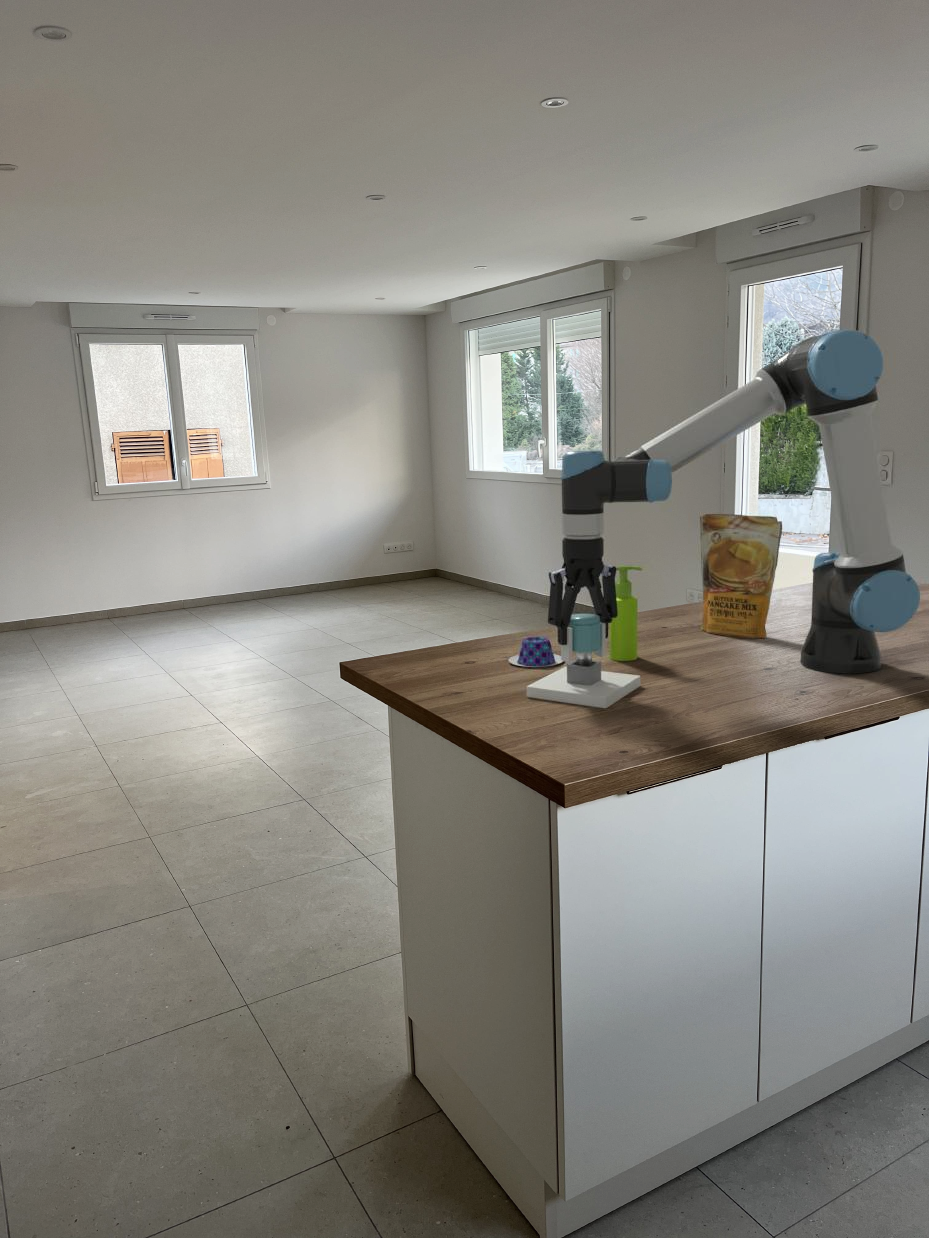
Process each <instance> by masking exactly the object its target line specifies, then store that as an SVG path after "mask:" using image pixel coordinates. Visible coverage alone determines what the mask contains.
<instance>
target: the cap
mask: <svg viewBox="0 0 929 1238" xmlns="http://www.w3.org/2000/svg"><path fill="white" fill-rule="evenodd" d="M568 627H570V628H572V652H575V653H576V652H592V653H594V651H597V650H601V643H600V616H598V615H596V613H595V614H594V613H593V614H592V613H574V614H572V615H571V619H570V622H569V626H568Z"/></svg>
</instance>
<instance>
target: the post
mask: <svg viewBox="0 0 929 1238" xmlns="http://www.w3.org/2000/svg"><path fill="white" fill-rule="evenodd" d="M575 660H576V665H580V666H588V667H589V666H591V665H592V661H593V652H575Z"/></svg>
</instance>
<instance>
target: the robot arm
mask: <svg viewBox="0 0 929 1238" xmlns="http://www.w3.org/2000/svg"><path fill="white" fill-rule="evenodd" d="M882 353H883V352H882V350H881V349H880V347H879V345H878V344H877V342H876V341H875V340H874V338H873V337H871V336H869V335H868V334H866V333H864V332H862V331H860V330H856V329H842V328H841V329H836V330H831V331H829V332H826V333H823V334H820V335H819V334H818V335H816V336H811V337H809V338H806V339H804V340H801V341H800V342H799V343H797V344H796V345H794V346H793V347H792V348H790V349H789V350H787V351H786V352H784V353H782V355H780V356H779V357H778V358H776V359H775V360H773V361H772V362H770V363H769V364H767V365H765V366H764V367H761V369H759V370H757V372H756V374H755V378H754V379H753V380H751V381H749V382H747V383H746V384H744V385H742V386H741V387H739V388H738V389H736V390H734V391H732V392H730V393H729V394H728V395H725V396H723V397H722V398H721V399H719V400H717V401H715V402H714V403H711V404H710V405H709V406H707V407H705V408H704V409H701V410H700V411H698V412H697V413H695V414H694V415H692V416H690V417H688V418H687V419H685V420H683V421H681V422H680V423H679V424H677V425H675V426H673V427H671V428H670V429H668V430H667V431H665V432H662V434H660V435H657V436H656V437H654V438H653V439H651V440H649V441H648V442H646V443H644V444H642V445H641V446H640V447H637V448H636V449H634V450H633V451H631V452H629V453H627V454H626V455H624V456H622V457H621V456H620V457H617V458H616V459H614V460H605V455H604V452H603V451H601V450H597V449H596V450H595V449H594V450H571V451H566V452H565V453H564V454H563V456H562V457H561V458H562V460H561V461H562V462H561V463H562V464H561V476H560V478H561V479H560V480H561V509H562V510H561V511H562V514H561V517H562V520H561V522H562V524H561V525H562V527H561V528H562V535H563V536H565V537H563V539H562V541H561V545H562V547H561V548H562V549H561V551H562V553H561V555H562V558H563V564H562V566H561V569H557V570H556V571H552V570H550V571H549V572H548V578H549V582H550V588H549V597H548V598H549V601H548V612H547V623H548V624H549V625H551V626H555V627H556V628H557V643H558V645H560V656H561V660H562V661H563V662H565V663H567V664H569V663H573V661H574V660H573V651H572V628H570V627H568V626H569V622H570V619H571V615H573V612H574V608H575V604H576V601H577V597H578V595H579V593H580V592H581V591H582V589H583V588H586V589H587V590H588V593H589V596H590V600H591V602H592V606H593V609H594V613H595V615H598V616H600V643H601V650H597V651H593V655H594V656H596V657H600V658H606V639H608V638H609V624H610V623H611V622H612V618H616V617H617V616H618V611H617V599H616V587H615V582H616V575H617V571H618V570H617V566H615V565H610V564H605V563H604V562H603V557H604V553H605V552H604V549H605V548H604V547H605V544H604V543H605V541H604V538H603V537H602V535H603V534H604V533H605V524H604V523H605V522H604V521H605V520H604V518H605V517H604V514H605V513H604V511H605V509H604V505H605V504H607V503H608V504H612V503H649V504H651V503H654V502H655V503H656V502H663V501H664V502H665V501H667V500H668V499H669V498H670V496H671V493H672V489H673V488H672V487H673V473H674V472H676V471H678V470H680V469H681V468H683V467H684V466H686V465H688V464H690V463H692V462H694V461H695V460H697V459H698V458H700V457H701V456H704V455H706V454H707V453H709V452H711V451H712V450H714V449H716V448H718V447H720V445H723V444H724V443H726V442H728V441H729V440H731V439H733V438H735V437H736V436H738V435H740V434H741V433H743V432H745V431H746V430H748V429H750V428H753V426H755V425H757V424H759V423H760V422H762V421H764V420H766V419H767V418H769V417H771V416H773V415H774V414H775V415H778V416H779V415H780V416H783V415H784V414H786V413H788V412H790V411H792V410H794V409H796V408H799V407H801V406H804V405H805V406H806V407H805V408H806V412H807V418H808V419H810V420H812V421H813V422H815V423H817V425H818V427H819V432H820V434H819V435H820V438H821V440H820V441H821V444H822V452H823V455H824V456H823V457H824V462H825V468H826V472H827V473H826V474H827V479H828V485H829V489H830V491H829V492H830V496H831V502H832V507H833V508H832V509H833V513H834V518H835V526H836V531H837V535H838V541H839V547H840V552H839V551H838V552H823V553H822V552H820V553H818V554H817V555H816V556H815V557H814V560H813V568H812V570H811V571H812V591H811V592H812V593H811V595H812V597H811V599H812V600H811V621H810V622H811V623H810V624H811V625H810V627H809V630H808V633H807V635H806V637H805V641H804V643H803V646H802V648H801V650H800V664H801V665H803V666H804V667H806V668H809V669H812V670H815V671H820V672H827V673H834V674H835V673H837V674H864V673H872V672H876V671H877V670H880V669H881V668H882V653H881V650H880V647H879V642H878V639H877V635H876V633H889V632H892V631H895V630H898V629H900V628H902V627H904V626H905V625H907V624H908V623H909V622H910V621H911V619H912V618H913V617H914V616H915V614H916V613H917V611H918V609H919V607H920V604H921V603H920V602H921V591H920V587H919V585H918V584H917V582H916V580H915V579H914V578H913V577H912V576H911V575H910V574H908V573H907V571H906V563H905V558H904V552H903V550H901V549H900V548H898V547H897V546H896V545H894V544H893V542H892V536H891V531H890V525H889V524H890V523H889V519H888V513H887V506H886V500H885V494H884V489H883V488H884V487H883V483H882V482H883V481H882V477H881V476H882V475H881V470H880V464H879V457H878V452H877V445H876V440H875V439H876V438H875V433H874V427H873V426H874V425H873V422H872V411H873V410H874V408H875V406H876V405H878V402H879V397H878V390H877V384H878V383H879V380H880V378H881V377H882V374H883V370H884V358H883V354H882ZM600 576H601V580H600ZM565 578H566V581H565ZM564 581H565V584H564ZM601 583H602V584H601ZM563 592H564V593H563Z"/></svg>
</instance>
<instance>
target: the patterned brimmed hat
mask: <svg viewBox="0 0 929 1238" xmlns="http://www.w3.org/2000/svg"><path fill="white" fill-rule="evenodd" d="M508 662H509V663H510V664H512V665H515V666H519V667H525V668H543V667H545V668H547V667H550V666H551V667H552V666H556V665H559V664H561V663H563V662H564V661H562V660H561V655H558V654H555V653H554V651H553V647H552V643H551V641H550V639H548V638H547V637H542V636H530V637H526V638H524V639H523V640H522V642H521V646H520V650H519V653H518V654H516V655H514V656H511V657H509V658H508Z"/></svg>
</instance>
